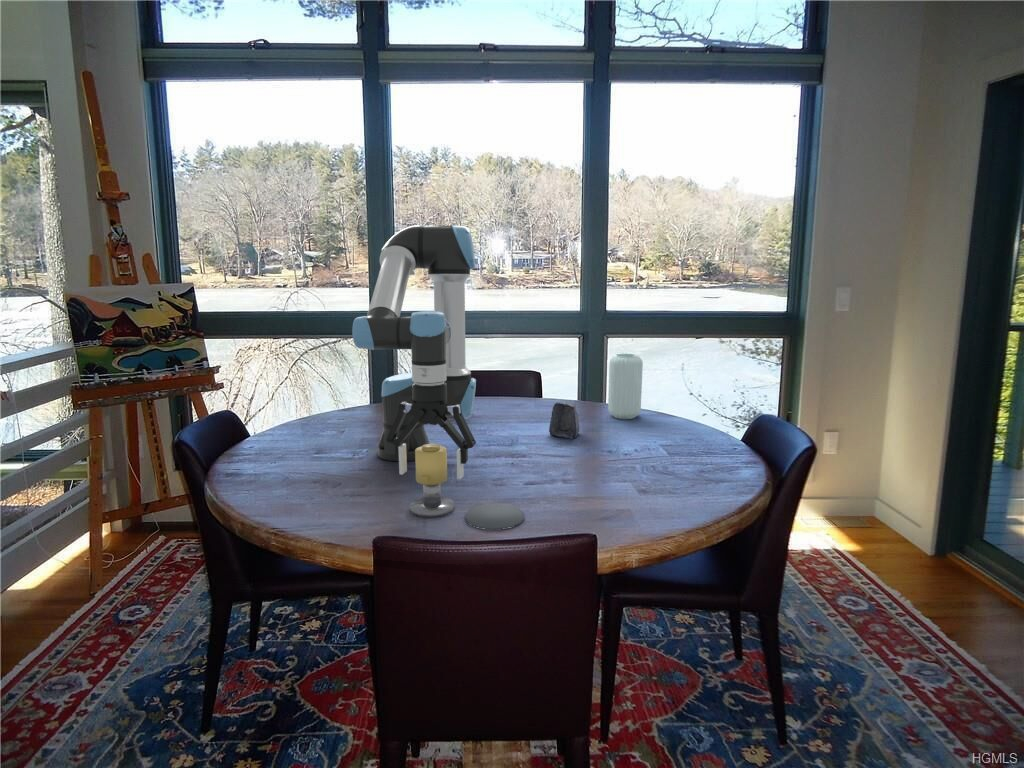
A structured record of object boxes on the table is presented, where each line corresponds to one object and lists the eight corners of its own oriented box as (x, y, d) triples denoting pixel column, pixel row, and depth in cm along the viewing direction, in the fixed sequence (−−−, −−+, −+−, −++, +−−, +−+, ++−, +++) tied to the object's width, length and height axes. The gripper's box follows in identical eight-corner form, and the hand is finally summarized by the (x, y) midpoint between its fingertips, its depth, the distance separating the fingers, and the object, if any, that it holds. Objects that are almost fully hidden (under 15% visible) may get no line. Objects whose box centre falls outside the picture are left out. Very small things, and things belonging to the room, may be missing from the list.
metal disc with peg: (403, 516, 145) (402, 485, 143) (419, 499, 154) (418, 470, 153) (446, 519, 143) (445, 488, 141) (459, 503, 152) (459, 473, 151)
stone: (570, 446, 203) (542, 433, 207) (578, 443, 213) (551, 431, 216) (584, 410, 202) (555, 398, 205) (592, 410, 211) (565, 398, 214)
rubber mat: (457, 526, 139) (457, 523, 139) (474, 504, 151) (474, 501, 151) (517, 532, 136) (517, 529, 136) (529, 509, 149) (529, 505, 149)
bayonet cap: (409, 485, 143) (408, 451, 142) (424, 471, 152) (423, 439, 151) (439, 487, 142) (439, 453, 140) (452, 473, 151) (452, 441, 149)
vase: (616, 411, 241) (618, 351, 237) (645, 415, 234) (648, 354, 230) (602, 417, 232) (604, 355, 227) (631, 422, 225) (634, 358, 221)
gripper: (369, 383, 142) (373, 476, 146) (479, 388, 136) (480, 484, 141) (383, 377, 149) (386, 465, 153) (488, 381, 144) (489, 473, 148)
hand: (431, 475), depth 147 cm, fingers open, 13 cm apart
